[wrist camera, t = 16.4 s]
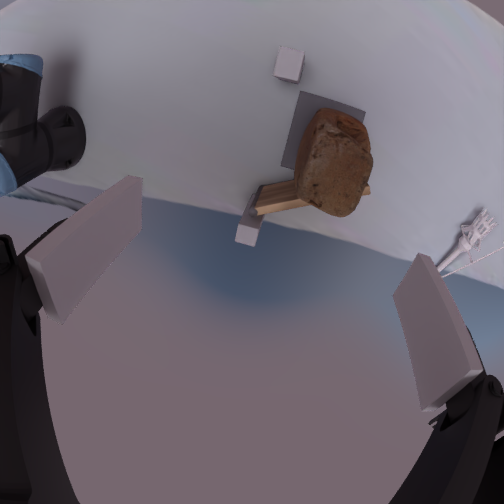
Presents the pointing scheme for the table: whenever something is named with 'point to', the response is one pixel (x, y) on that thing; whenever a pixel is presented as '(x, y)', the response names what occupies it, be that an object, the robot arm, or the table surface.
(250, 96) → the table surface
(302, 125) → the mat
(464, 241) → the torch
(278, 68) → the door frame
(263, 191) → the door
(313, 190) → the brown oblong lump
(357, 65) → the table surface
